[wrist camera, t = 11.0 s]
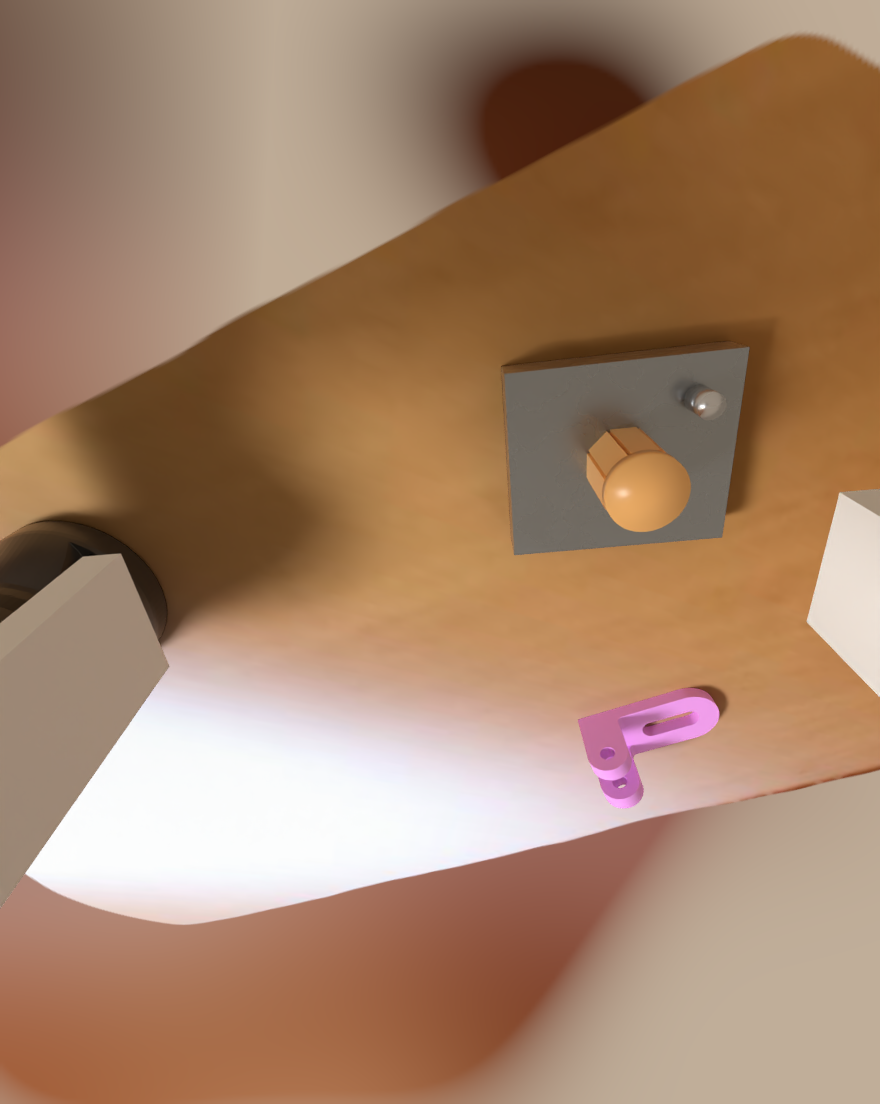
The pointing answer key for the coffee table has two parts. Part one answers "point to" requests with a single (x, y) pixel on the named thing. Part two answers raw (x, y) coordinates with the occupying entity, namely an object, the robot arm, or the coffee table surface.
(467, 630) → the coffee table surface
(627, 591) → the coffee table surface
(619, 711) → the bracket
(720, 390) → the block
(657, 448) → the orange faceted knob
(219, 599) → the coffee table surface
